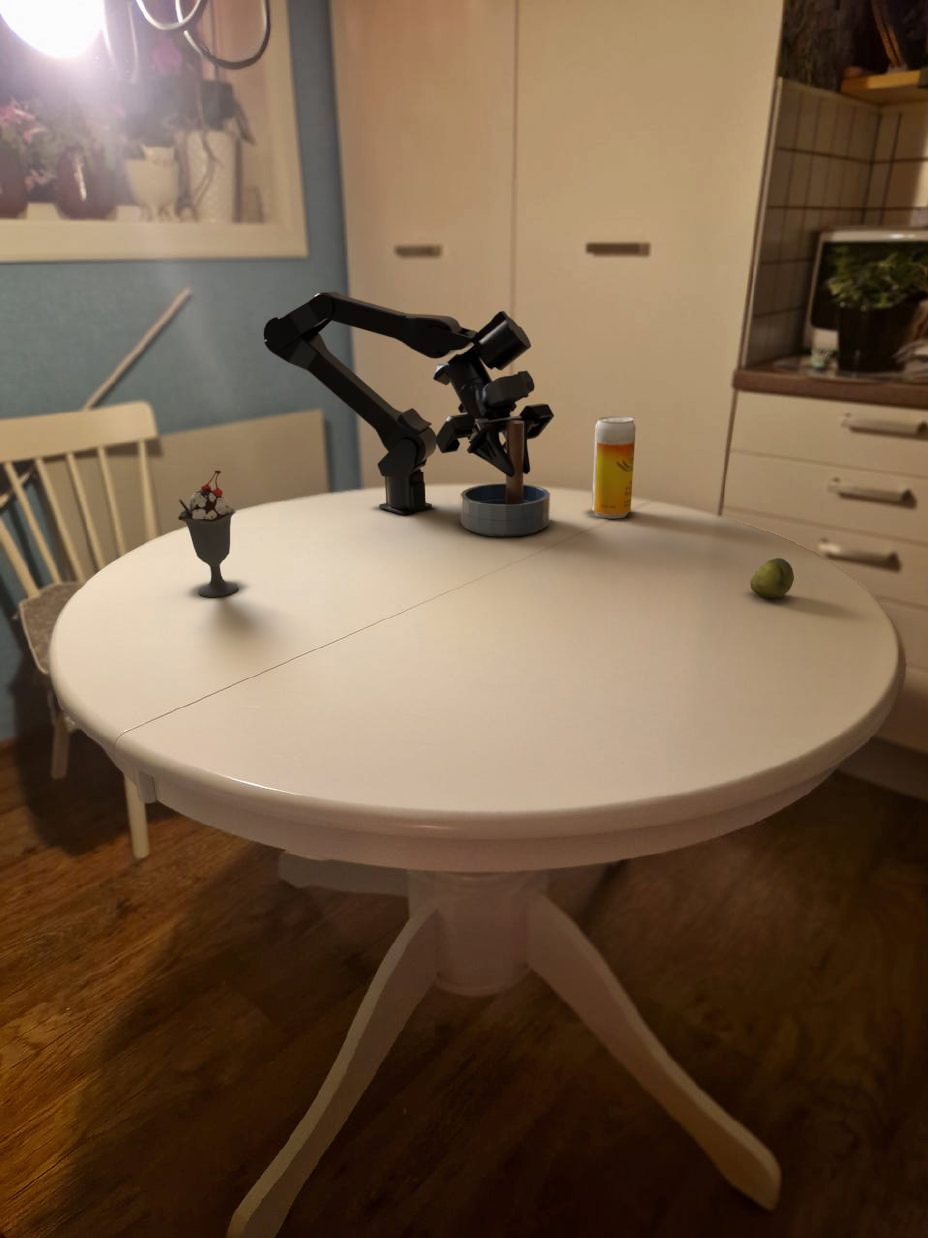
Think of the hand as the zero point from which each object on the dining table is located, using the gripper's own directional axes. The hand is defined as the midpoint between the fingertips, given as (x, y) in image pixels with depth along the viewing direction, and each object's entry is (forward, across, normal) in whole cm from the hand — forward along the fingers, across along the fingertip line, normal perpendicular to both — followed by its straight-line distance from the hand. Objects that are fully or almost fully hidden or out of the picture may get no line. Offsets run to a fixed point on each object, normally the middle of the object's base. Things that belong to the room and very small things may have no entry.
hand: (520, 474), depth 127 cm
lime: (+35, +6, -22) cm, 42 cm away
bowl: (+4, 0, +8) cm, 9 cm away
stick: (+4, 0, +6) cm, 8 cm away
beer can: (+8, +17, +5) cm, 19 cm away
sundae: (+4, -46, +9) cm, 47 cm away
